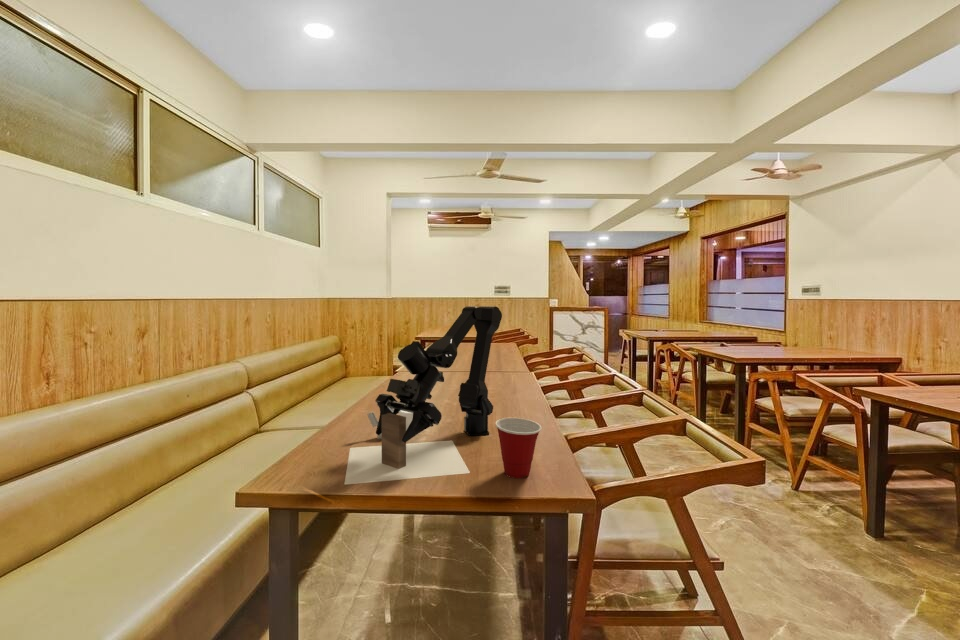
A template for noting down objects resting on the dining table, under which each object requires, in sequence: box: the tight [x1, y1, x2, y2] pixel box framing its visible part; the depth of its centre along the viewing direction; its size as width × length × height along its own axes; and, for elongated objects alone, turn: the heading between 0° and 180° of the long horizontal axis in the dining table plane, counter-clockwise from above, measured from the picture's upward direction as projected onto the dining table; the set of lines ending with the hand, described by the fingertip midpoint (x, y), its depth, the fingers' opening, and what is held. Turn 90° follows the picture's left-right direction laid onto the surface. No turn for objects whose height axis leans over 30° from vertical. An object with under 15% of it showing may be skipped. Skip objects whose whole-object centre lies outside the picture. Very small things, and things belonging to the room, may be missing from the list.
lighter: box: [367, 411, 382, 440], centre depth 125 cm, size 7×2×8 cm, turn 85°
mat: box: [344, 440, 471, 485], centre depth 108 cm, size 28×24×1 cm
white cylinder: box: [398, 410, 420, 435], centre depth 131 cm, size 7×7×7 cm
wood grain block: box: [381, 413, 407, 469], centre depth 105 cm, size 3×6×12 cm, turn 54°
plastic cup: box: [495, 417, 543, 479], centre depth 100 cm, size 11×11×12 cm
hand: (389, 437), depth 103 cm, fingers open, 9 cm apart
